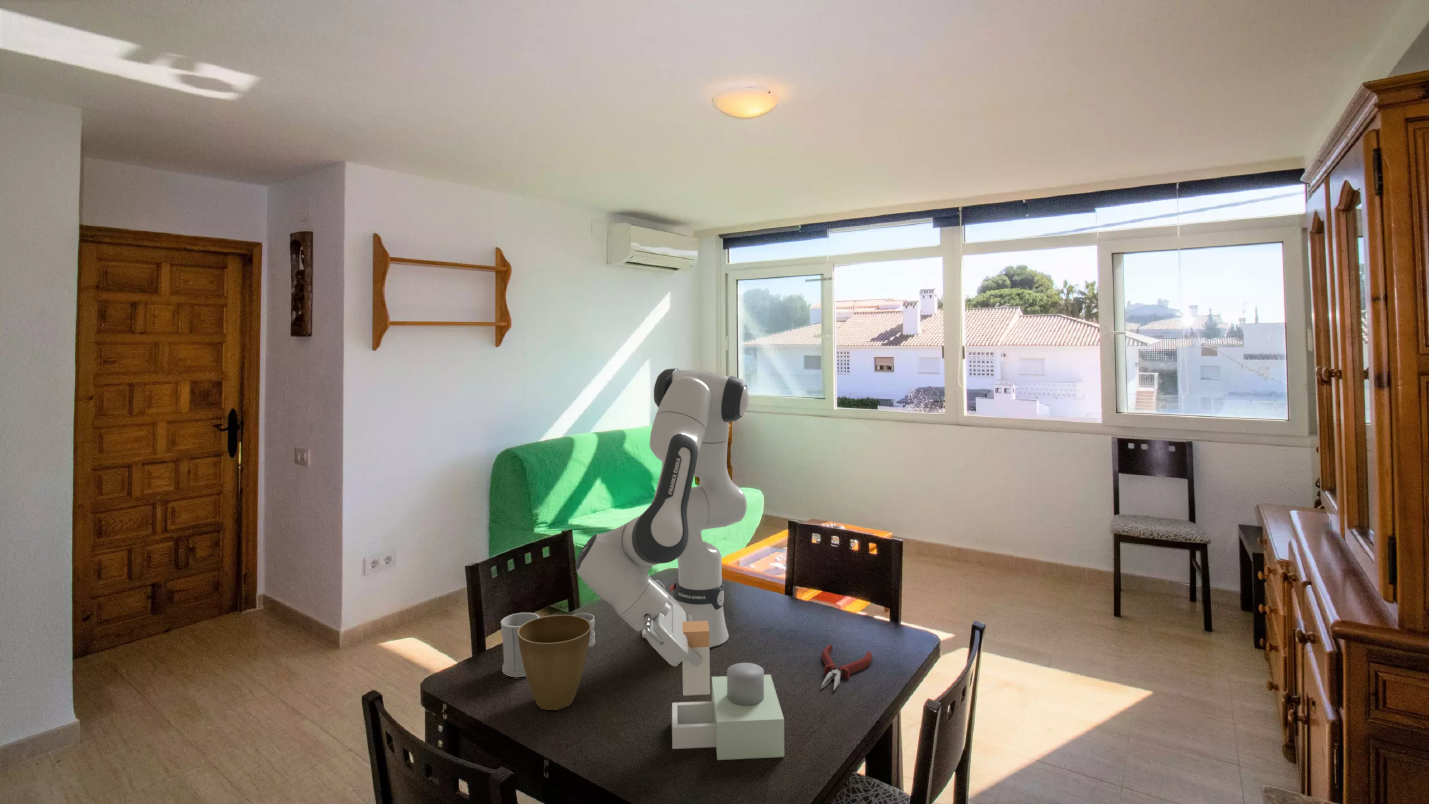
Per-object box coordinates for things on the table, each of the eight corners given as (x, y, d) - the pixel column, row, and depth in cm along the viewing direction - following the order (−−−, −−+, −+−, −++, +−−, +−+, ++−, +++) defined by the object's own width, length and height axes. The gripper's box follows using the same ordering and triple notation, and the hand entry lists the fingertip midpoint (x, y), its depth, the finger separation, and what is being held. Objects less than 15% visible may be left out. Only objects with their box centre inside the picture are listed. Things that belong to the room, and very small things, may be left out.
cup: (555, 667, 156) (554, 616, 155) (529, 684, 148) (527, 631, 147) (520, 659, 161) (518, 610, 160) (492, 675, 152) (491, 623, 152)
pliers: (801, 689, 146) (801, 677, 145) (826, 652, 164) (826, 642, 164) (853, 700, 141) (854, 688, 141) (873, 661, 159) (874, 650, 159)
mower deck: (672, 761, 119) (671, 696, 118) (672, 711, 136) (671, 654, 135) (784, 756, 120) (784, 691, 119) (770, 707, 137) (770, 650, 136)
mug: (600, 643, 169) (599, 617, 169) (579, 652, 164) (578, 625, 164) (575, 633, 176) (574, 608, 175) (554, 641, 171) (553, 615, 170)
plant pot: (525, 728, 130) (522, 648, 129) (515, 693, 144) (513, 620, 143) (600, 711, 136) (598, 634, 135) (584, 679, 150) (582, 609, 149)
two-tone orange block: (683, 695, 124) (682, 632, 123) (682, 682, 129) (681, 621, 128) (710, 694, 124) (709, 631, 124) (708, 681, 129) (707, 620, 129)
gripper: (656, 614, 115) (714, 668, 116) (658, 577, 135) (708, 623, 137) (631, 641, 115) (689, 694, 116) (637, 599, 135) (686, 645, 136)
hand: (699, 655), depth 126 cm, fingers closed on two-tone orange block, 5 cm apart
